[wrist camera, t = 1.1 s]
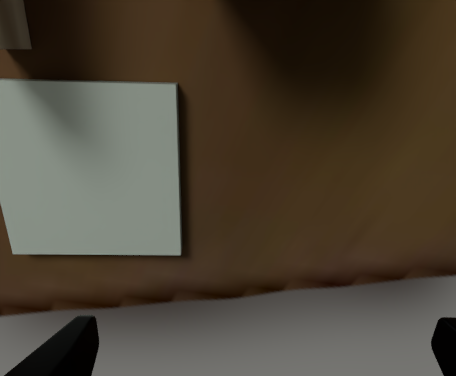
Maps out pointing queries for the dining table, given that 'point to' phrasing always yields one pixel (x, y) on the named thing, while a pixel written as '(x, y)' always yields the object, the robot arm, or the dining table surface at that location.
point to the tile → (90, 167)
